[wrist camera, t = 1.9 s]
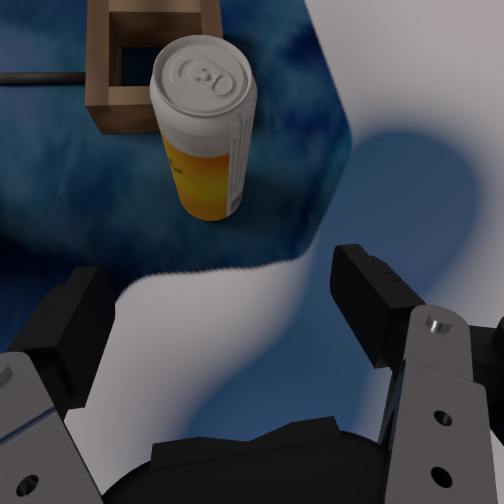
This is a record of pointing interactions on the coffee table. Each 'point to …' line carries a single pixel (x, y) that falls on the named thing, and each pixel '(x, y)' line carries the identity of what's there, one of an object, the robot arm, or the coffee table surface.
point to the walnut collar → (109, 55)
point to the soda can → (205, 121)
